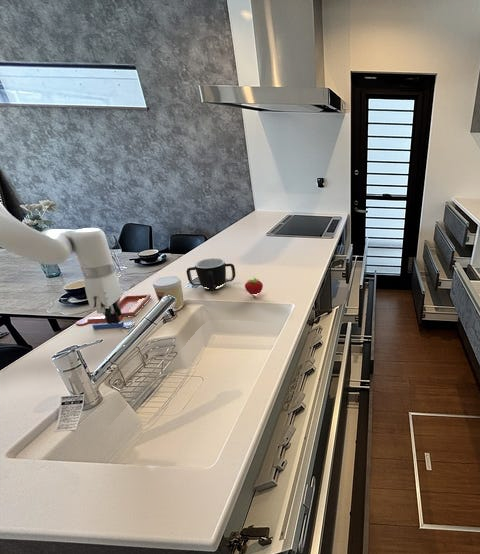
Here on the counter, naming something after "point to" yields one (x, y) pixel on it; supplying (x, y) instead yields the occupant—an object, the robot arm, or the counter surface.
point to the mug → (211, 273)
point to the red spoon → (94, 320)
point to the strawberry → (254, 286)
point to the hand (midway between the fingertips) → (115, 321)
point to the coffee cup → (169, 289)
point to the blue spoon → (112, 325)
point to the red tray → (128, 303)
